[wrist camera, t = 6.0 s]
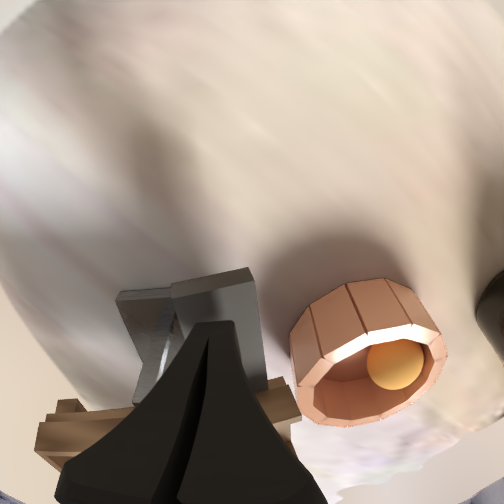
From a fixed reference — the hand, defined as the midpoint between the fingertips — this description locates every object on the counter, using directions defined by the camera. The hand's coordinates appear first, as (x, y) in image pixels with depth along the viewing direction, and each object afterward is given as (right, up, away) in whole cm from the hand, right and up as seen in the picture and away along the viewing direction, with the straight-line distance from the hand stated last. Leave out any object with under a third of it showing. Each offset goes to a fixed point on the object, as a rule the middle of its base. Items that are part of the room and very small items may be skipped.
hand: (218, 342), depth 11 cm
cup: (+9, -3, +10) cm, 14 cm away
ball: (+11, -4, +8) cm, 14 cm away
